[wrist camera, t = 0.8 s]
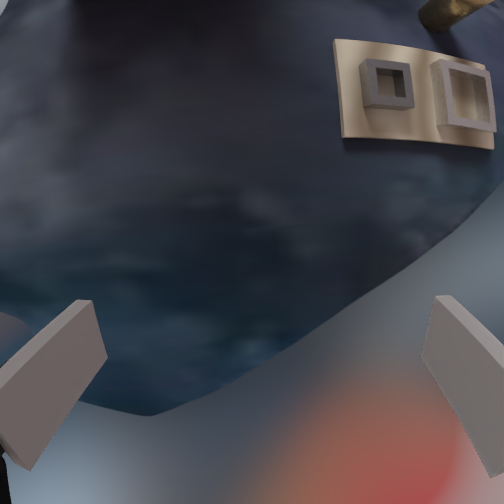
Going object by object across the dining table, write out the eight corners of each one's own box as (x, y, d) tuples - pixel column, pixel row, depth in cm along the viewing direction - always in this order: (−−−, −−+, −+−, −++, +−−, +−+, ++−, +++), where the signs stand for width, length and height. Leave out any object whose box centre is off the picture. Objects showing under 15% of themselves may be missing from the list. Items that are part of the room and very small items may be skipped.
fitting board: (478, 67, 28) (496, 61, 24) (487, 149, 31) (507, 149, 27) (332, 43, 30) (340, 29, 25) (341, 137, 33) (351, 134, 29)
